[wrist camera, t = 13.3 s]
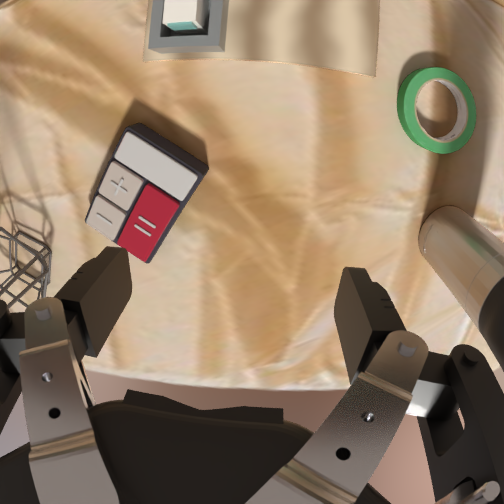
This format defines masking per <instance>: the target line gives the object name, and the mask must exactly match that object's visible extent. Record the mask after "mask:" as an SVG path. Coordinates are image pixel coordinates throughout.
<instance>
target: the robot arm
mask: <svg viewBox="0 0 504 504" xmlns="http://www.w3.org/2000/svg"><path fill="white" fill-rule="evenodd" d="M419 248H420V251H421V253H422V255H423V257H424V258H425V259H426V260H427V262H428V263H429V264H430V265H431V267H432V268H433V269H434V271H435V272H436V273H437V274H438V276H439V277H440V278H441V279H442V281H443V282H444V283H445V285H446V286H447V287H448V288H449V290H450V291H451V292H452V294H453V295H454V296H455V298H456V299H457V300H458V302H459V303H460V305H461V306H462V307H463V309H464V310H465V311H466V313H467V314H468V316H469V317H470V318H471V320H472V321H473V323H474V324H475V325H476V327H477V328H478V330H479V331H480V333H481V334H482V336H483V337H484V339H485V340H486V342H487V344H488V345H489V347H490V349H491V351H492V352H493V354H494V356H495V357H496V359H497V361H498V362H499V364H500V366H501V368H502V369H503V371H504V242H502V241H501V240H500V239H499V238H497V237H496V236H495V235H494V234H493V233H491V232H490V231H489V230H488V229H486V228H485V227H484V226H482V225H481V224H480V223H479V222H477V221H476V220H475V219H474V218H472V217H471V216H469V215H468V214H467V213H465V212H464V211H463V210H461V209H460V208H458V207H455V206H444V207H441V208H439V209H437V210H435V211H434V212H433V213H432V214H430V215H429V217H428V218H427V219H426V220H425V222H424V224H423V226H422V228H421V231H420V235H419ZM131 293H132V280H131V273H130V265H129V258H128V252H127V250H126V248H120V247H109V246H107V247H106V248H105V249H104V250H103V251H102V252H101V253H100V254H99V255H98V256H97V257H96V258H93V259H91V260H89V261H88V262H86V263H84V264H83V265H82V266H81V267H80V268H79V269H78V270H77V273H75V274H74V275H73V276H72V277H71V279H69V280H68V281H67V283H66V284H65V285H64V286H63V287H62V288H61V289H60V291H59V292H58V293H57V294H56V295H55V296H54V297H45V298H41V299H38V300H36V301H34V302H32V303H31V304H30V305H29V306H28V307H27V308H26V310H25V312H18V313H10V312H9V309H8V307H7V304H6V302H5V301H3V300H0V434H1V432H2V430H3V427H4V425H5V423H6V421H7V419H8V417H9V415H10V413H11V411H12V409H13V407H14V405H15V403H16V401H17V399H18V397H19V396H20V394H21V392H22V394H23V403H24V410H25V417H26V422H27V429H28V434H29V439H30V442H28V443H27V444H25V445H23V446H21V447H19V448H17V449H15V450H14V451H12V452H10V453H8V454H6V455H4V456H2V457H1V458H0V504H391V503H390V502H389V501H387V499H385V498H384V497H383V496H382V495H381V494H380V493H379V492H377V491H376V490H375V489H374V488H373V487H372V486H371V485H370V484H369V483H368V480H369V479H370V477H371V476H372V474H373V473H374V471H375V469H376V467H377V466H378V464H379V462H380V461H381V459H382V457H383V455H384V454H385V452H386V450H387V448H388V447H389V445H390V443H391V441H392V439H393V437H394V435H395V433H396V431H397V429H398V427H399V425H400V423H401V421H402V419H403V417H404V415H405V414H409V415H414V416H417V419H418V423H419V427H420V431H421V435H422V439H423V443H424V448H425V452H426V456H427V461H428V465H429V470H430V475H431V480H432V485H433V490H434V496H435V502H436V503H435V504H504V393H503V391H502V389H501V387H500V385H499V383H498V381H497V380H496V377H495V375H494V373H493V371H492V369H491V368H490V366H489V364H488V362H487V360H486V358H485V357H484V355H483V354H482V353H481V352H480V351H479V350H477V349H476V348H474V347H472V346H469V345H465V344H461V345H457V346H455V347H454V348H453V349H452V351H451V353H450V355H449V356H448V355H443V354H439V353H434V352H430V351H428V346H427V344H426V343H425V341H424V340H423V339H422V338H421V337H419V336H418V335H416V334H414V333H412V332H409V331H407V330H406V328H405V326H404V324H403V322H402V320H401V318H400V316H399V314H398V312H397V310H396V309H395V306H394V304H393V302H392V301H391V298H390V297H389V295H388V293H387V291H386V290H385V289H384V288H383V287H382V286H381V285H380V284H378V283H377V282H372V281H371V279H370V277H369V275H368V273H367V271H366V269H365V268H355V267H345V268H344V269H343V272H342V276H341V280H340V284H339V288H338V292H337V296H336V300H335V306H334V318H335V322H336V326H337V330H338V334H339V338H340V342H341V346H342V351H343V355H344V359H345V363H346V367H347V372H348V376H349V381H350V385H351V386H350V388H349V389H348V391H347V392H346V393H345V395H344V396H343V398H342V399H341V400H340V402H339V403H338V404H337V405H336V407H335V408H334V409H333V411H332V412H331V413H330V415H329V416H328V417H327V418H326V419H325V421H324V422H323V423H322V425H321V426H320V427H319V428H318V429H317V431H316V432H315V433H313V432H312V431H310V430H309V429H307V428H305V427H303V426H301V425H298V424H296V423H293V422H290V421H287V420H283V409H281V408H262V407H247V406H241V407H233V408H224V409H213V410H198V409H196V408H193V407H190V406H187V405H185V404H182V403H179V402H177V401H174V400H172V399H169V398H167V397H164V396H159V395H154V394H148V393H143V392H138V391H133V390H127V392H126V395H125V397H124V400H114V401H108V402H104V403H100V404H97V405H96V402H95V399H94V396H93V393H92V390H91V388H90V384H89V381H88V378H87V375H86V372H85V368H84V365H83V362H82V359H83V357H84V355H87V356H91V357H96V358H97V356H98V354H99V352H100V351H101V349H102V347H103V345H104V343H105V341H106V340H107V338H108V336H109V334H110V332H111V331H112V329H113V327H114V325H115V324H116V322H117V320H118V318H119V317H120V315H121V313H122V312H123V310H124V308H125V306H126V305H127V303H128V301H129V300H130V297H131ZM459 408H460V410H461V413H462V416H463V419H464V423H465V428H464V430H463V427H462V424H461V421H460V418H459V415H458V412H457V410H458V409H459Z"/></svg>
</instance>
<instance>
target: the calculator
mask: <svg viewBox="0 0 504 504" xmlns="http://www.w3.org/2000/svg"><path fill="white" fill-rule="evenodd" d="M208 170H209V167H208V166H207V165H206V164H204V163H203V162H201V161H200V160H198V159H197V158H195V157H194V156H192V155H191V154H189V153H188V152H186V151H184V150H183V149H181V148H180V147H178V146H177V145H175V144H174V143H172V142H170V141H169V140H167V139H166V138H164V137H162V136H161V135H159V134H158V133H156V132H154V131H153V130H151V129H150V128H148V127H146V126H145V125H143V124H141V123H137V124H134V125H131V126H128V127H126V129H125V130H124V132H123V134H122V136H121V138H120V140H119V142H118V144H117V146H116V148H115V150H114V152H113V155H112V157H111V159H110V161H109V163H108V165H107V167H106V170H105V172H104V174H103V176H102V179H101V181H100V183H99V186H98V188H97V190H96V193H95V195H94V198H93V200H92V203H91V205H90V208H89V210H88V213H87V215H86V218H85V222H86V223H87V224H88V225H89V226H91V227H92V228H94V229H95V230H97V231H98V232H100V233H101V234H103V235H104V236H106V237H107V238H109V239H110V240H112V241H113V242H115V243H116V244H118V245H119V246H121V247H122V248H126V250H127V251H128V252H130V253H131V254H133V255H134V256H136V257H137V258H139V259H140V260H142V261H144V262H145V263H150V262H151V260H152V259H153V257H154V255H155V254H156V252H157V251H158V249H159V247H160V246H161V244H162V242H163V241H164V239H165V237H166V236H167V234H168V232H169V231H170V229H171V228H172V226H173V224H174V223H175V221H176V219H177V218H178V216H179V215H180V213H181V212H182V210H183V208H184V207H185V205H186V204H187V202H188V201H189V199H190V197H191V196H192V194H193V193H194V191H195V190H196V188H197V187H198V185H199V184H200V182H201V181H202V179H203V178H204V176H205V175H206V173H207V172H208Z"/></svg>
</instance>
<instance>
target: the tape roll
mask: <svg viewBox="0 0 504 504" xmlns="http://www.w3.org/2000/svg"><path fill="white" fill-rule="evenodd" d="M432 81H437V82H440V83H442V84H443V85H445V86H446V87H447V88H448V89H449V90H450V91H451V92H452V94H453V96H454V98H455V100H456V103H457V108H458V116H457V121H456V124H455V126H454V128H453V129H452V130H451V131H450V132H449V133H448V134H447V135H445V136H443V137H439V138H433V137H432V136H430V135H429V134H428V133H427V132H426V131H425V129H424V128H422V126H421V124H420V122H419V120H418V117H417V111H416V104H417V98H418V95H419V93H420V91H421V90H422V88H423V87H424V86H425V85H426V84H428V83H429V82H432ZM397 112H398V117H399V120H400V123H401V125H402V127H403V129H404V131H405V132H406V134H407V135H408V136H409V138H410V139H411V140H412V141H413V142H415V143H416V144H417V145H419V146H421V147H423V148H425V149H427V150H429V151H432V152H435V153H441V154H448V153H452V152H455V151H457V150H459V149H460V148H462V147H463V146H464V145H465V144H466V143H467V142H468V140H469V139H470V137H471V135H472V133H473V131H474V128H475V123H476V106H475V102H474V98H473V96H472V93H471V91H470V89H469V88H468V86H467V85H466V83H465V82H464V81H463V80H462V79H461V78H460V77H459V76H458V75H457V74H455V73H454V72H452V71H450V70H448V69H445V68H440V67H430V68H422V69H418V70H416V71H414V72H412V73H411V74H409V75H408V76H407V77H406V78H405V80H404V81H403V83H402V84H401V87H400V89H399V92H398V97H397Z"/></svg>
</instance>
